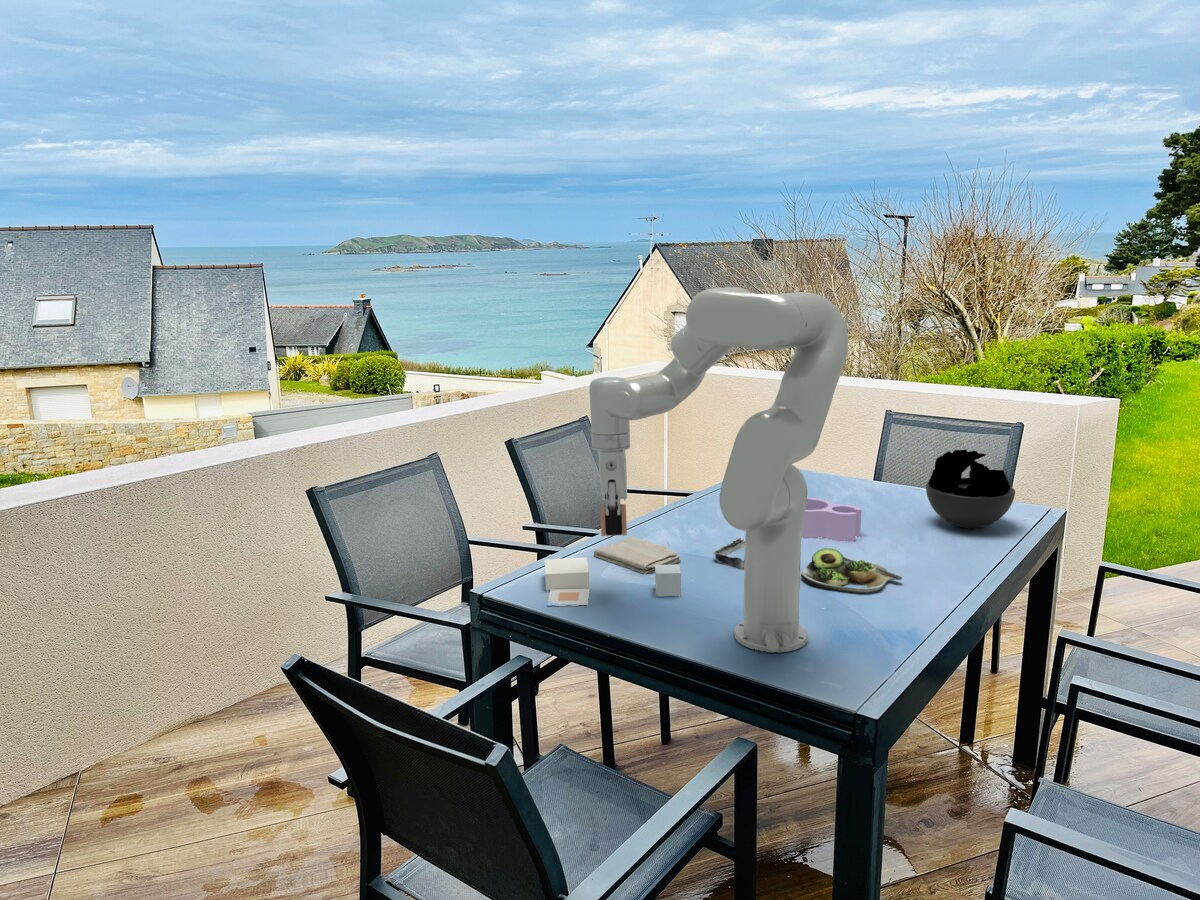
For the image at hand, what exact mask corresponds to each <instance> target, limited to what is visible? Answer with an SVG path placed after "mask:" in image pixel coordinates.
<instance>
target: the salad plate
mask: <svg viewBox="0 0 1200 900" xmlns="http://www.w3.org/2000/svg"><path fill="white" fill-rule="evenodd" d="M800 578H802V580H803V581H804V582H805V583H806V584H807V585H810V586H811V587H816V588H819V589H824V590H833V591H839V592H847V593H858V594H861V593H862V594H863V593H864V594H866V593H868V594H869V593H875V592H878V591H880V590H881V589H883V588H884V587H885V585H886V584H887V583H888V582H889V581H895V580H896V581H898V580H899V581H901V580H902V579H903V576H901V575H897V574H895V573H892V572H889V571H888V570H887V569H886V568H885V567H884V566H882V565H880V564H877V563H874V562H873V563H872V562H868V561H867V562H866V561H865V560H863V559H861V560H858V561H857V560H854V559H853V560H852V559H850V558H847V557H845V556H844V555H843V554H842V553H841V551H839V550H837V549H834V548H831V547H830V548H828V547H827V548H826V547H825V548H822V549H819V550H816V552H815V553H813V555H812V557H811V562H809V563H808V564H807V566H806V567H805V568H804V569H803V570H802V572H800ZM849 584H858V585H866V586H865V587H851V586H850V587H848V586H845V585H849Z"/></svg>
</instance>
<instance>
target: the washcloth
mask: <svg viewBox="0 0 1200 900" xmlns="http://www.w3.org/2000/svg"><path fill="white" fill-rule="evenodd" d="M593 557H595V558H599V559H601V560H603V561H605V562H609V563H611V564H615V565H618V566H621V567H624V568H626V569H629V568H630V569H629V570H632V569H633V571H634V570H635V572H637V571H638V573H640V572H641V573H640V574H642V573H643V574H642V575H645V574H646V575H648V574H651V572H652V573H655V565H679V564H680V563H681V562H682V559H681V557H680V556H679V555H678V552H677V551H674V550H670V549H669V548H667V547H666V546H665V545H664V544H658V543H653V542H650V541H647V540H644V539H640V538H637V537H632V536H631V537H626V538H623V539H620V540H618V542H615V543H612V544H608V545H604V546H601V547H599V548H596V549H595V550H593ZM648 572H649V573H648Z"/></svg>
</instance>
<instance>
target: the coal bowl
mask: <svg viewBox="0 0 1200 900" xmlns="http://www.w3.org/2000/svg"><path fill="white" fill-rule="evenodd" d="M986 456H987V454H986V453H983V452H981V453H979V452H978V451H977V450H971V451H968V450H967V449H954V450H953V451H952V452H951V451H950V450H948V451H946V452H945V453H943V455H940V456H938V457H937V458H936V459H935V462H934V469H933V470H932V473H931V476H930V477H929V480H928V481H927V483H926V485H925V491H926V497H927V500H928V502H929V504H930V506H931V507H932V509H933V510H934V512H935V513H936V514H937V515H938V516H939V517H940V518H941V519H943V520H944V521H946V522H947V523H949V524H951V525H954V526H957V527H960V528H966V529H977V528H984V527H987V526H989V525H991V524H995V522H997V521H999V520H1000V519H1002V518H1003V516H1005V514H1006V513H1007V512H1008V511H1009V509H1010V508H1011V506H1012V504H1013V503H1014V500H1015V496H1016V490H1015V488H1013V487H1012V486H1011V485H1010V483H1009V480H1008V478H1007V475H1006V473H1005V470H1003V469H990V468H989V467H988V465H987V466H986V465H984V464H983V463H980V462H978V461H976V460H979V459H981V458H983V457H986ZM968 468H969V469H970V470H969V473H968V474H969V475H968V476H969V477H962V474H963V473H964V472H965V471H966V470H967V469H968Z"/></svg>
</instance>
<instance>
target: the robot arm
mask: <svg viewBox="0 0 1200 900" xmlns="http://www.w3.org/2000/svg"><path fill="white" fill-rule="evenodd" d="M685 323H686V324H685V325H684V326H683V327H682V328H681V329H680V330H679V331H678V332H676V333H675V334H674V335H673V337H672V338H671V340H670V341H671V342H670V349H671V352H672V354H673V356H674V357H673V359H672V360H671V361H670V362H669V363H668V364H667V365H666V366H665V367H663V369H661V370H660V371H659V372H657V373H656V374H654V375H649V376H643V377H637V378H633V379H628V380H626V379H625V378H623V377H620V376H619V377H617V376H606V377H597V378H595V379H592V380H591V382H590V383H589V407H590V409H589V410H590V411H589V412H590V426H591V427H590V429H591V432H590V433H591V436H590V437H591V450H592V451H596V452H598V471H599V472H598V473H599V475H598V476H599V485H600V492H601V499H602V501H604V502H605V505H606V515H605V525H606V535H619V536H622V535H621V534H622V514H620V504H621V500H623V501H626V500H627V499H628V475H627V457H626V450H629V449H631V435H630V434H631V431H630V430H631V429H630V421H637V420H642V419H646V418H649V417H652V416H657V415H663V414H666V413H668V412H670V411H671V410H673V409H674V408H676V407H677V406H679V405H680V404H681V403H682V402H683V401H684V400H686V399H687V398H688V397H689V396H691V395H692V393H694V391H696V390H697V389H698V388H699V386H700V385H701V383H702V382H703V380H704V378H705V376H706V373H707V372H708V371H709V369H710V368H712V367H713V366H715V364H716V363H718V362H719V361H720V360H721V359H722V358H723V357H724V356H725V355H727V354H728V353H729V352H730V351H731V350H733V349H734V348H735V347H739V348H745V349H752V350H762V351H779V350H785V349H790V348H791V349H792V348H795V349H794V354H793V355H792V358H791V360H790V362H789V364H788V365H787V367H786V369H785V371H784V373H783V375H782V378H781V381H780V386H779V389H778V392H777V395H776V396H775V400H774V402H773V404H772V405H771V407H769V408H767V409H765V410H762V411H759V412H757V413H754V414H753V415H751V416H750V417H748V418H747V419H746V420H745V421H744V423H743V424H742V426H741V427H740V428H739V430H738V432H737V435H736V437H735V439H734V443H733V444H732V445H733V446H732V449H731V452H730V456H729V459H728V462H727V465H726V468H725V472H724V475H723V480H722V483H721V486H720V491H719V507H720V511H721V514H722V516H723V518H724V519H725V521H726V522H727V523H728V524H729V525H730V526H731V527H733V528H734V529H736V530H739V531H744V532H745V534H744V535H745V536H744V541H745V548H744V551H743V552H744V555H743V558H744V559H743V561H744V568H743V570H744V571H743V620H742V621H741V622H739V623H738V624H737V625H736V626H735V627H734V637H735V639H736V641H737V642H738V643H739V644H740V645H742V646H743V647H746V648H748V649H751V650H754V649H755V650H754V651H758V650H760V651H759V652H763V651H766V652H765V653H774V652H777V653H787V652H792V651H795V650H799V649H801V648H802V647H804V646H805V645H806V644H807V643H808V631H807V630H806V628H804V627H803V626H802V625H801V624H800V621H799V620H800V594H801V593H800V588H801V587H800V586H801V555H802V538H801V537H802V526H803V519H804V514H805V509H806V503H807V498H808V486H807V485H808V484H807V482H806V479H805V477H804V475H803V473H802V472H801V471H800V469H799V468H798V467H796V466H795V465H794V464H795V463H798V462H800V461H802V460H804V459H806V458H807V457H809V456H810V455H811V454H812V453H813V452H814V451H815V450H816V448H817V446H818V445H819V440H820V437H821V434H822V432H823V428H824V426H825V423H826V419H827V417H828V414H829V411H830V408H831V405H832V401H833V398H834V394H835V391H836V389H837V384H838V382H839V380H840V377H841V374H842V371H843V369H844V366H845V363H846V359H847V354H848V349H849V335H848V334H849V333H848V328H847V325H846V322H845V319H844V317H843V315H842V313H841V312H840V310H839V309H838V308H837V306H836V305H835V304H834V303H832V302H831V301H830V300H829V299H827V298H826V297H824V296H822V295H820V294H818V293H814V292H806V291H802V292H801V291H797V292H787V293H776V294H766V293H752V291H750V290H748V289H746V288H743V287H738V286H737V287H736V286H735V287H733V286H729V287H728V286H727V287H713V288H708V289H704V290H702V291H700V292H697V294H696V295H695V296H694V297H692V299H691V300H690V302H689V304H688V305H687V307H686V311H685Z"/></svg>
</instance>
